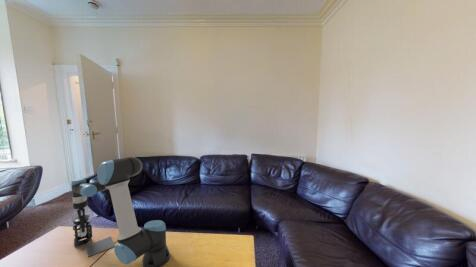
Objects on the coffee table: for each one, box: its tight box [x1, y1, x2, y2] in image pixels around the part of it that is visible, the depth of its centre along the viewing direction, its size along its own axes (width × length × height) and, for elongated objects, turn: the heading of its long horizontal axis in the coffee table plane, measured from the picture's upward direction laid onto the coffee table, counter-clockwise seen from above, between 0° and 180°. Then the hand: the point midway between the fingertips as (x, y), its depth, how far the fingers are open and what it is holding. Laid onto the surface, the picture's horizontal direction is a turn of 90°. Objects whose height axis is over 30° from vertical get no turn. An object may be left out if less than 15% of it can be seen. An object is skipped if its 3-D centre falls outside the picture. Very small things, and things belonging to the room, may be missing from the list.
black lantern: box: [71, 209, 93, 247], centre depth 129 cm, size 12×9×23 cm
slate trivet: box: [85, 236, 116, 258], centre depth 126 cm, size 14×14×1 cm
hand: (82, 233), depth 129 cm, fingers closed on black lantern, 9 cm apart
